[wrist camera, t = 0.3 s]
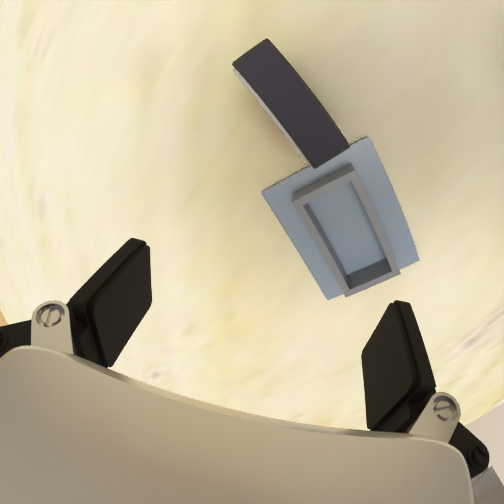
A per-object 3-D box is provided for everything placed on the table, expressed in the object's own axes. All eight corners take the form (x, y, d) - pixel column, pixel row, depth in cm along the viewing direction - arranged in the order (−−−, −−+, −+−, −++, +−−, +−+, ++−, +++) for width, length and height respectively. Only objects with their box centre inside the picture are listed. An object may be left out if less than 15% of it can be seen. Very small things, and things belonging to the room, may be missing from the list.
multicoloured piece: (254, 79, 32) (222, 68, 20) (281, 60, 31) (266, 36, 18) (306, 146, 36) (306, 176, 23) (334, 129, 34) (351, 148, 21)
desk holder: (367, 136, 33) (374, 141, 30) (418, 257, 40) (426, 273, 36) (262, 191, 40) (256, 202, 36) (327, 297, 46) (328, 315, 43)
